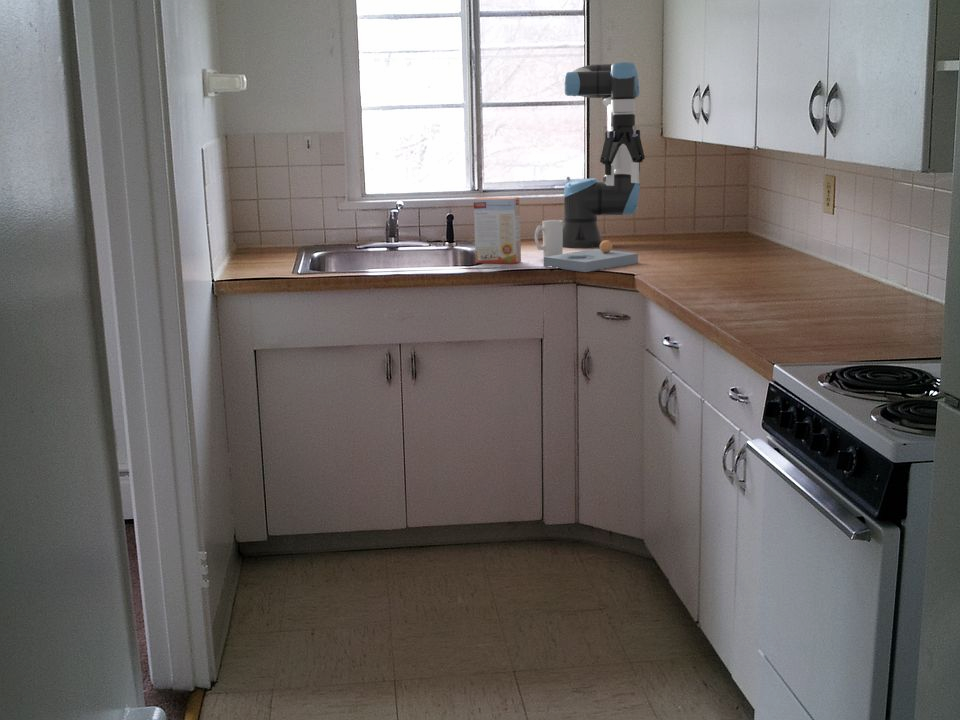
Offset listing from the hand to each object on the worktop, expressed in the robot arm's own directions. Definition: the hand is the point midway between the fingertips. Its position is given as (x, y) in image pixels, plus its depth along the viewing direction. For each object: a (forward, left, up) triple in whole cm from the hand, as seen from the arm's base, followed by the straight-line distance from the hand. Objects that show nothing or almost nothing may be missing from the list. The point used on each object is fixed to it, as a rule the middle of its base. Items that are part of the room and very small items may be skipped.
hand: (622, 184), depth 332 cm
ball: (+8, 0, -19) cm, 21 cm away
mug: (+12, -22, -24) cm, 35 cm away
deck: (+15, 0, -24) cm, 28 cm away
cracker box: (+30, -27, -24) cm, 47 cm away
